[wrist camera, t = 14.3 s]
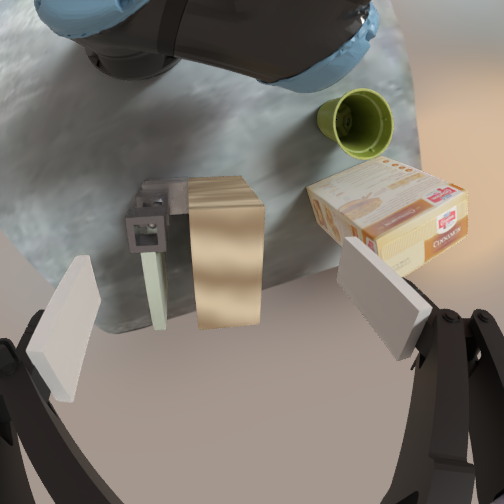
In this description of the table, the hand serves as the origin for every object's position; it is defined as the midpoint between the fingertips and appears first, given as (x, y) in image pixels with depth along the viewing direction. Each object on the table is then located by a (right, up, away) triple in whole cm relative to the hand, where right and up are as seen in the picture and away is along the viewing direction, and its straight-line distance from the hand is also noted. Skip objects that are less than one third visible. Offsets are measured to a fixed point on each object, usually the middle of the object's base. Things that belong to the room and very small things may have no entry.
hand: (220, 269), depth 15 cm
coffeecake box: (+17, +11, +32) cm, 38 cm away
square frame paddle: (-12, +2, +26) cm, 28 cm away
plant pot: (+14, +21, +26) cm, 36 cm away
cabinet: (-7, +5, +29) cm, 30 cm away
